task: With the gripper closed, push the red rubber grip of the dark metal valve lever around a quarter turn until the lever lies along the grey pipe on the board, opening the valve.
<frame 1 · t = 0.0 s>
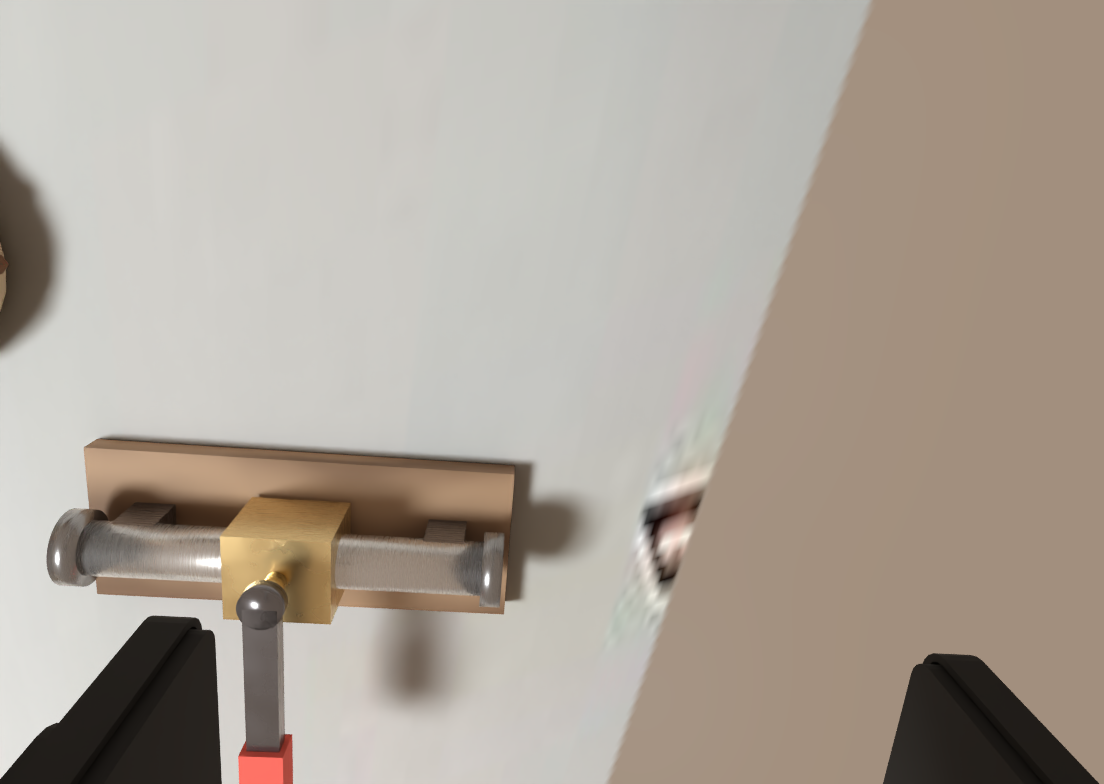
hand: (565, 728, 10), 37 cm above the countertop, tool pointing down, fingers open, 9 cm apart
valve board: (310, 524, 49), on the countertop
valve lever: (264, 706, 41), point 9 cm above the countertop, hinge at 0.0°
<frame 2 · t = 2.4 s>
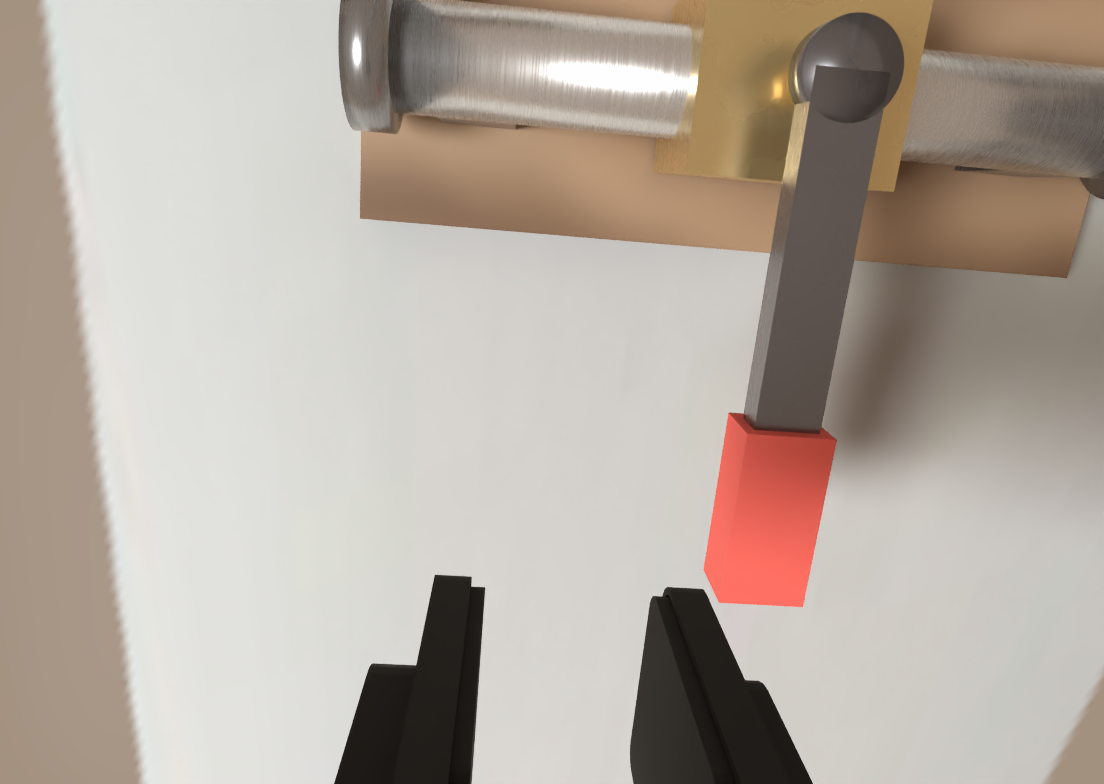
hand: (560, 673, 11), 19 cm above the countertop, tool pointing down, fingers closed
valve board: (734, 105, 27), on the countertop
valve lever: (797, 332, 20), point 9 cm above the countertop, hinge at 0.0°
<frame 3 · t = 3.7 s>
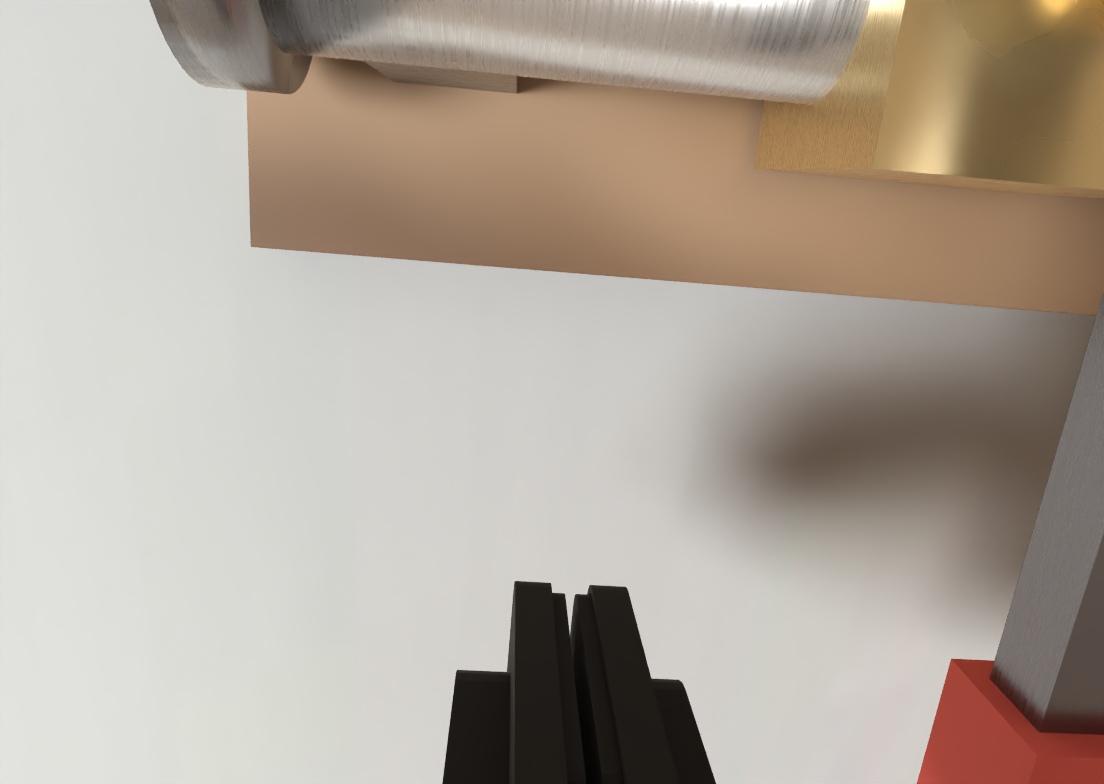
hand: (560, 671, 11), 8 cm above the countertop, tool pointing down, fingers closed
valve board: (882, 56, 16), on the countertop
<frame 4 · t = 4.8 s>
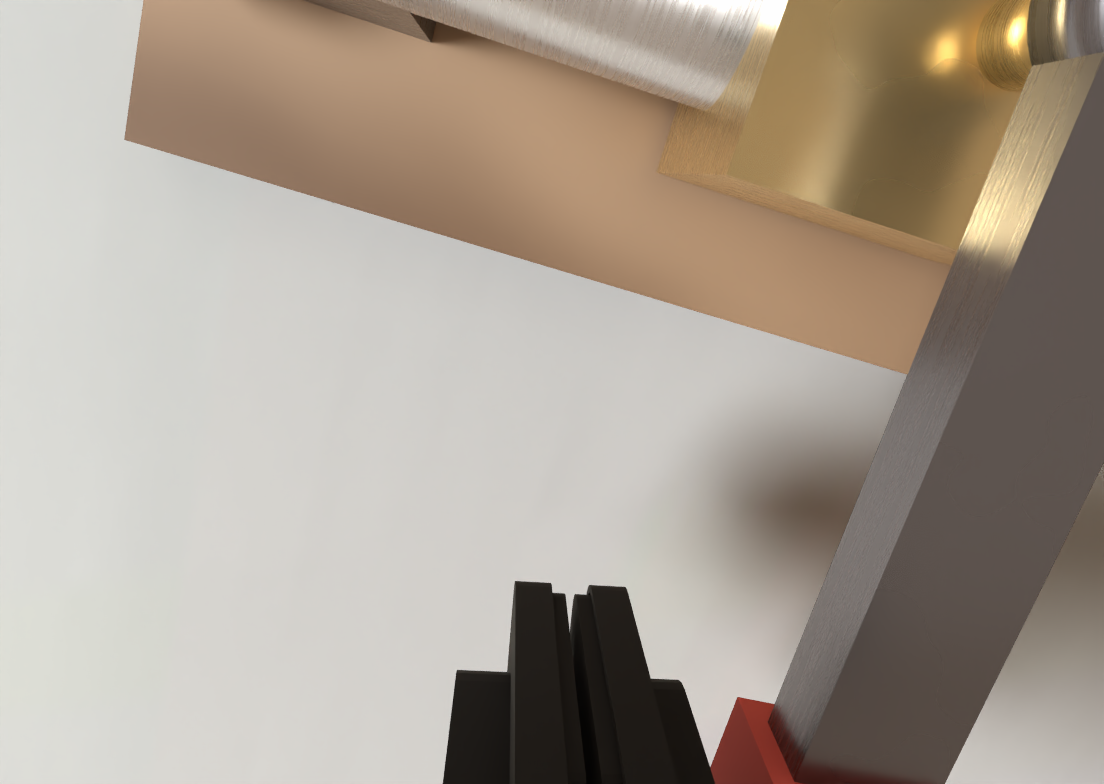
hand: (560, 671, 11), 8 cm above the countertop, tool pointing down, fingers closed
valve board: (811, 93, 16), on the countertop
valve lever: (926, 585, 9), point 10 cm above the countertop, hinge at 2.4°, touching gripper
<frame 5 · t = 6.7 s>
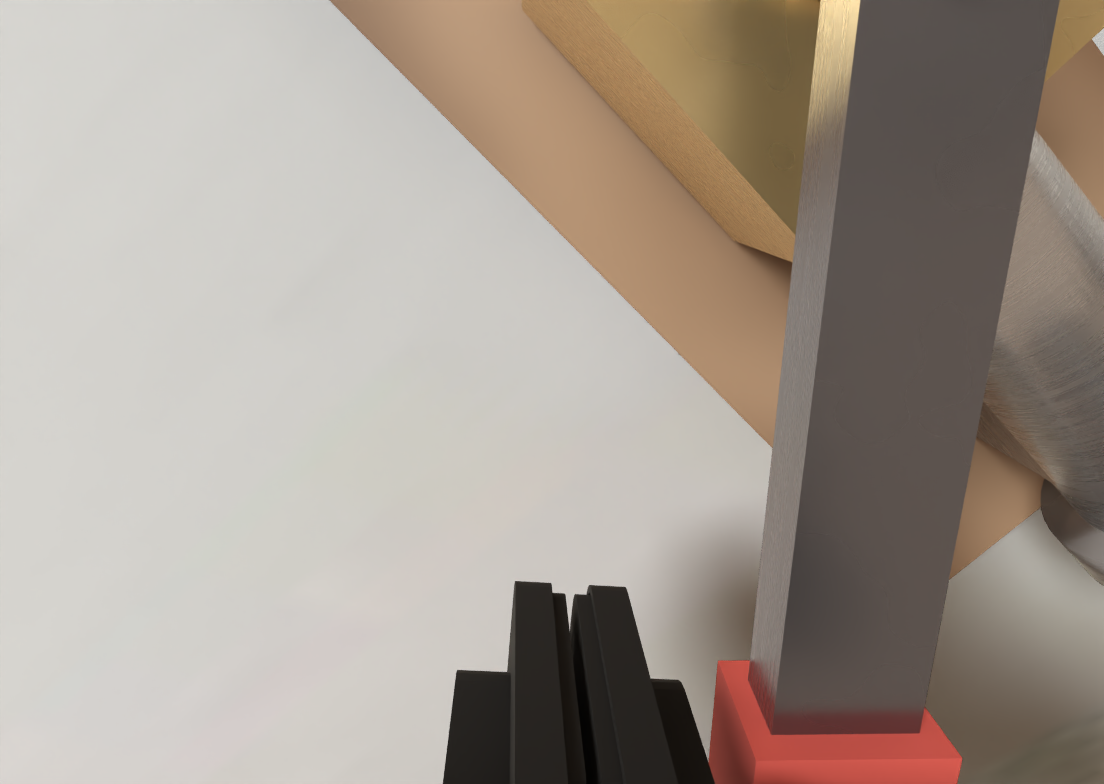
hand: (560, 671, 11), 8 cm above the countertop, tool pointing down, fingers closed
valve board: (709, 42, 16), on the countertop
valve lever: (857, 518, 9), point 9 cm above the countertop, hinge at 44.0°, touching gripper
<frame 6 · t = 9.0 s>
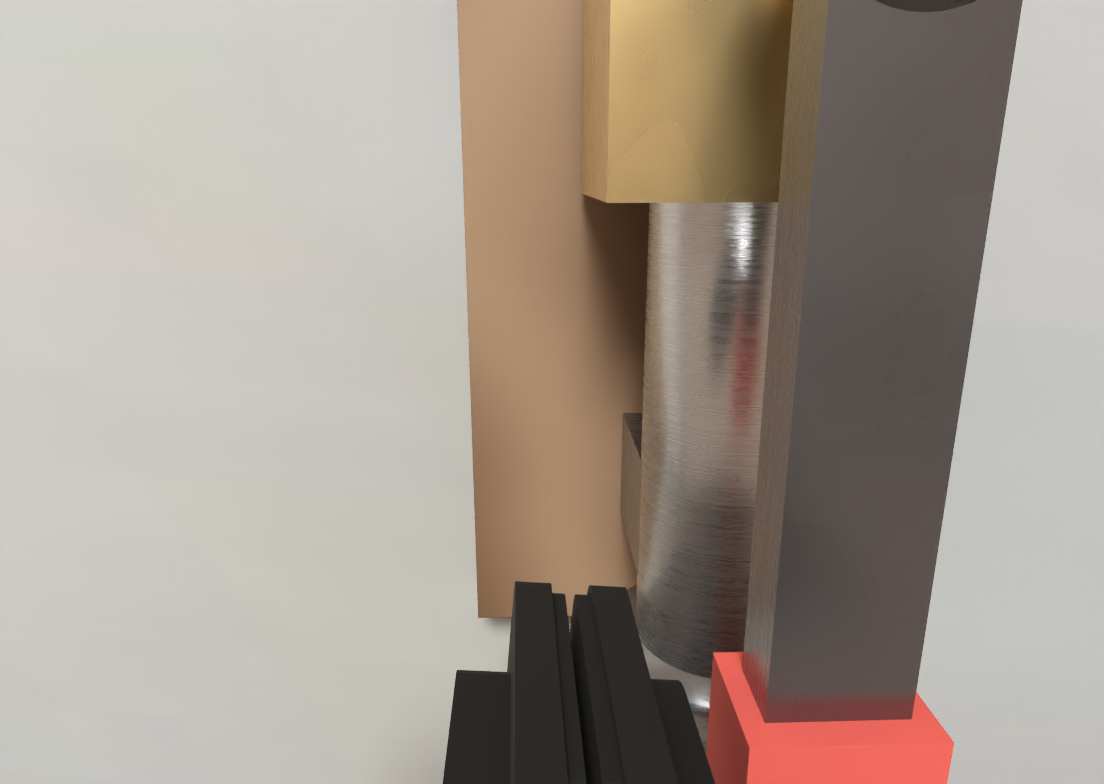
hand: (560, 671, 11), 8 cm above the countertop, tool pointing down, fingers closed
valve board: (697, 46, 16), on the countertop
valve lever: (844, 507, 9), point 10 cm above the countertop, hinge at 90.2°, touching gripper
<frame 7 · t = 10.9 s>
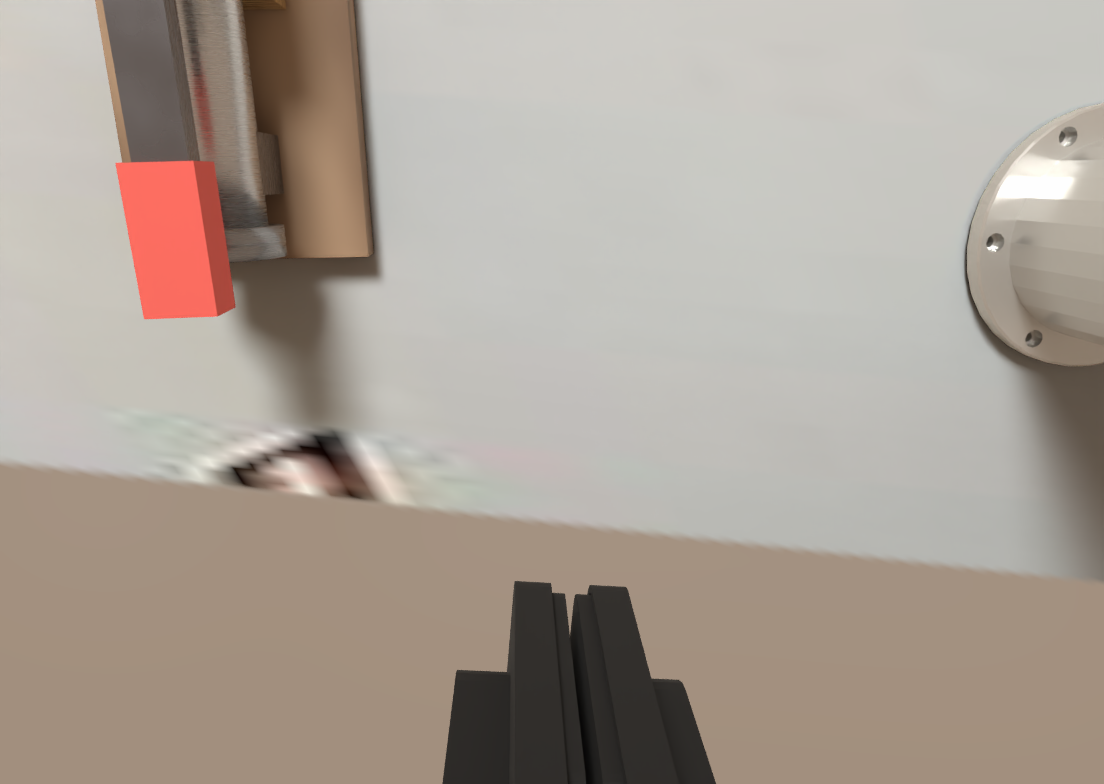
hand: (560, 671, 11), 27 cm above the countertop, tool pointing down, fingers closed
valve lever: (152, 76, 24), point 10 cm above the countertop, hinge at 90.8°
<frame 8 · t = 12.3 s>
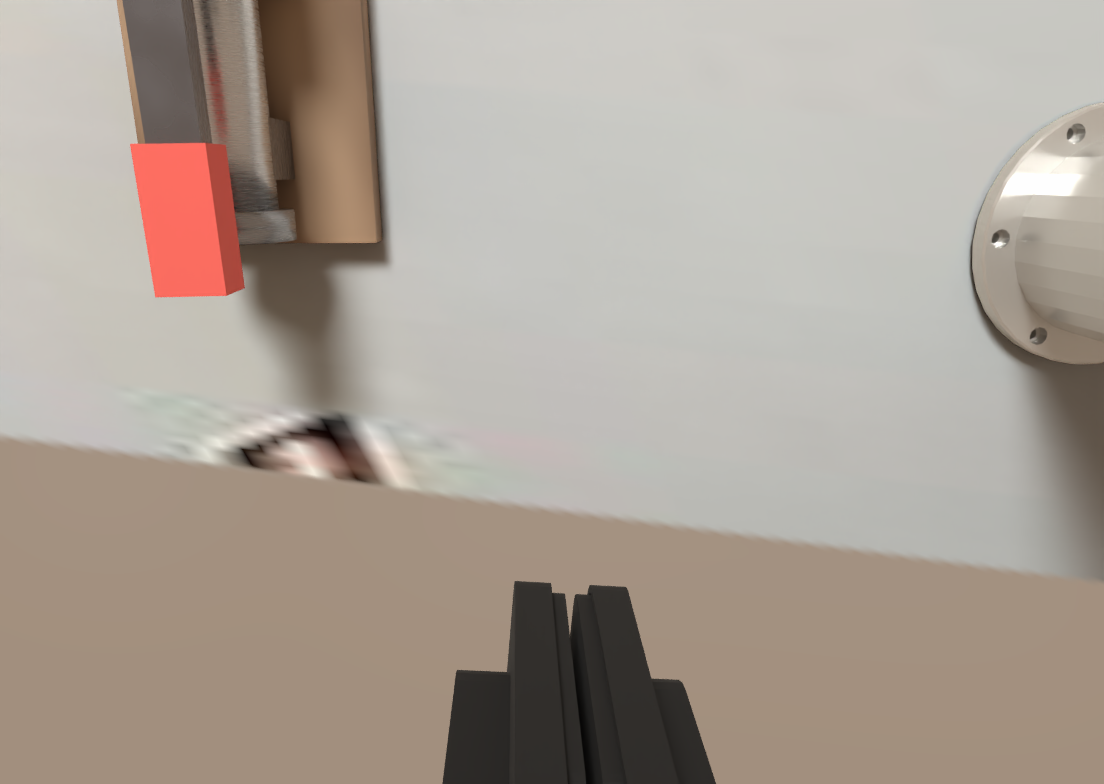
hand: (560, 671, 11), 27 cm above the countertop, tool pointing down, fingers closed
valve lever: (167, 60, 24), point 9 cm above the countertop, hinge at 90.8°
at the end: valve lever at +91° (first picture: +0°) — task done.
